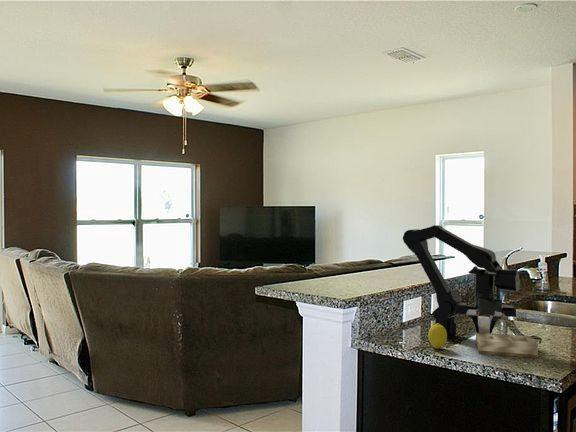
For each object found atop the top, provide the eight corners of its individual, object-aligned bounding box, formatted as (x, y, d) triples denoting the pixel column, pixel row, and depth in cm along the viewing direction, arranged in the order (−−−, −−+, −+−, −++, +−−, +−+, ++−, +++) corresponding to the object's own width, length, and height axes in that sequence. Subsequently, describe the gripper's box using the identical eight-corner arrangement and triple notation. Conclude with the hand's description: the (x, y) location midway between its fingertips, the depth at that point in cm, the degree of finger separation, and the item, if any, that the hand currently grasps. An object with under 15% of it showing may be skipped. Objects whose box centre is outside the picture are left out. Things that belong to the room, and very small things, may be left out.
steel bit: (478, 342, 163) (479, 318, 163) (477, 340, 166) (478, 316, 166) (489, 343, 162) (489, 318, 162) (488, 340, 165) (488, 316, 165)
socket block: (479, 353, 150) (479, 340, 150) (475, 345, 160) (475, 332, 160) (537, 358, 146) (537, 344, 146) (530, 349, 156) (530, 336, 156)
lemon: (434, 351, 152) (435, 325, 152) (424, 347, 157) (425, 321, 157) (450, 350, 153) (450, 324, 153) (440, 345, 159) (440, 320, 158)
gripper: (456, 290, 158) (455, 339, 158) (520, 293, 154) (519, 344, 154) (453, 285, 169) (453, 331, 169) (513, 288, 164) (512, 335, 165)
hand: (483, 335), depth 164 cm, fingers closed on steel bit, 3 cm apart
